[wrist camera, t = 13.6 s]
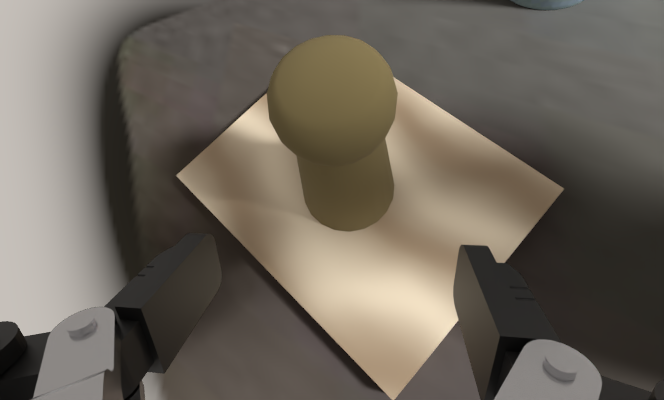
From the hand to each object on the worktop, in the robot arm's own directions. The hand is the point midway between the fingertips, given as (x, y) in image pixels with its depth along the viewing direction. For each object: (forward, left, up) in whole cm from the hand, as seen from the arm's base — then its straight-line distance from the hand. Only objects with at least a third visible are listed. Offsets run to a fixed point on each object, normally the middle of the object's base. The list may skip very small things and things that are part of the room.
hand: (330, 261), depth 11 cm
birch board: (-5, -4, -11) cm, 13 cm away
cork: (-5, -4, -10) cm, 12 cm away
